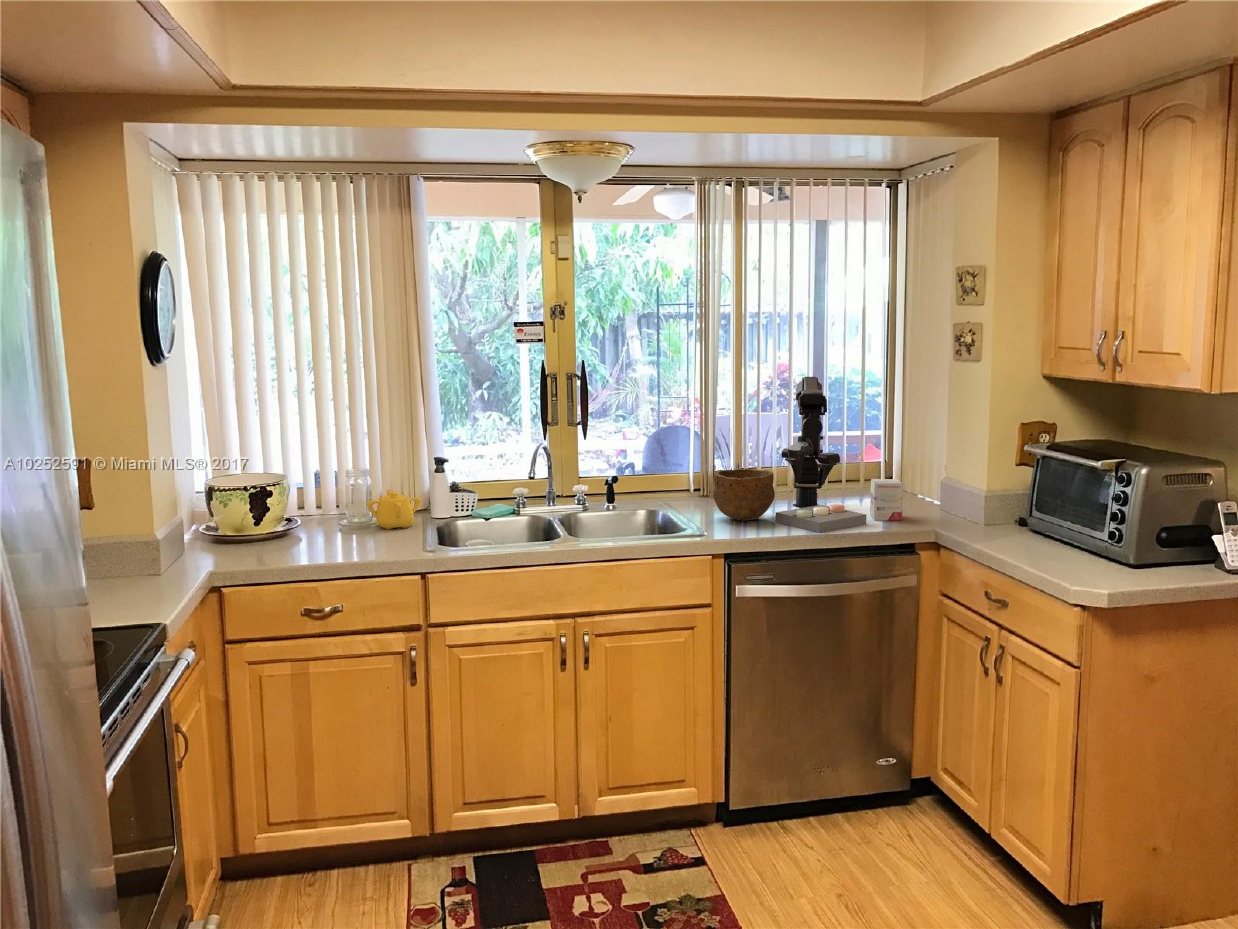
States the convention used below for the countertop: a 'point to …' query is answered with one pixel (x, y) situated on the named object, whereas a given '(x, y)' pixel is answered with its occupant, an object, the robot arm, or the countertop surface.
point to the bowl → (743, 492)
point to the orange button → (837, 508)
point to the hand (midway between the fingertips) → (809, 483)
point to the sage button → (804, 514)
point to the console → (821, 519)
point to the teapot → (394, 510)
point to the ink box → (886, 499)
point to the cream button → (820, 511)
